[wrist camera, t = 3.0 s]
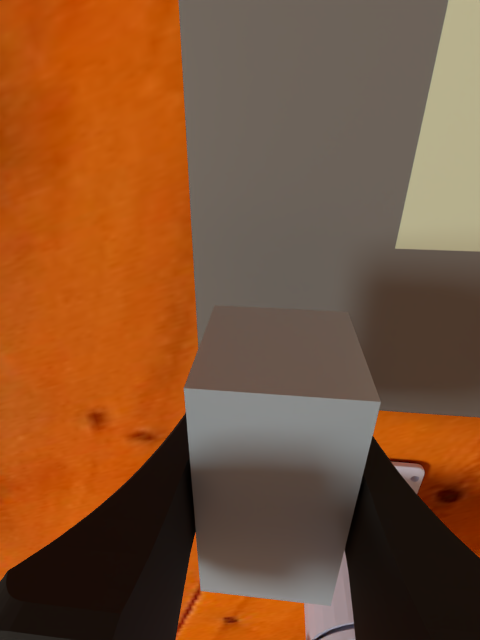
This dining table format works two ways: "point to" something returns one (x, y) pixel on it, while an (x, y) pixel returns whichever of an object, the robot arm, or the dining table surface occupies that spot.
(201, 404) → the slate brick
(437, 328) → the baseplate
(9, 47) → the dining table surface
